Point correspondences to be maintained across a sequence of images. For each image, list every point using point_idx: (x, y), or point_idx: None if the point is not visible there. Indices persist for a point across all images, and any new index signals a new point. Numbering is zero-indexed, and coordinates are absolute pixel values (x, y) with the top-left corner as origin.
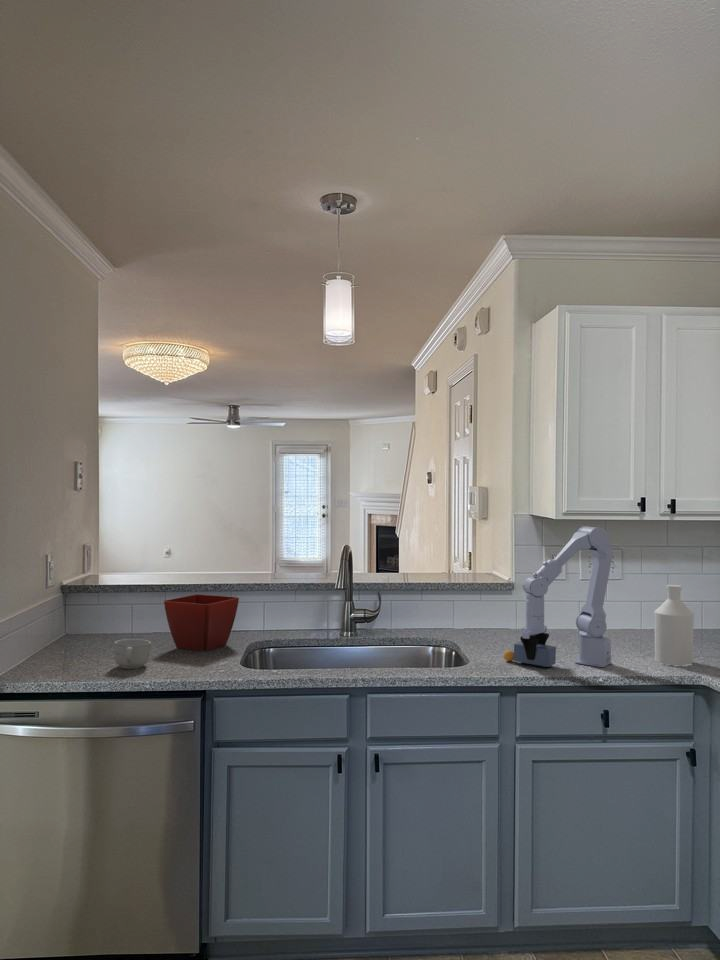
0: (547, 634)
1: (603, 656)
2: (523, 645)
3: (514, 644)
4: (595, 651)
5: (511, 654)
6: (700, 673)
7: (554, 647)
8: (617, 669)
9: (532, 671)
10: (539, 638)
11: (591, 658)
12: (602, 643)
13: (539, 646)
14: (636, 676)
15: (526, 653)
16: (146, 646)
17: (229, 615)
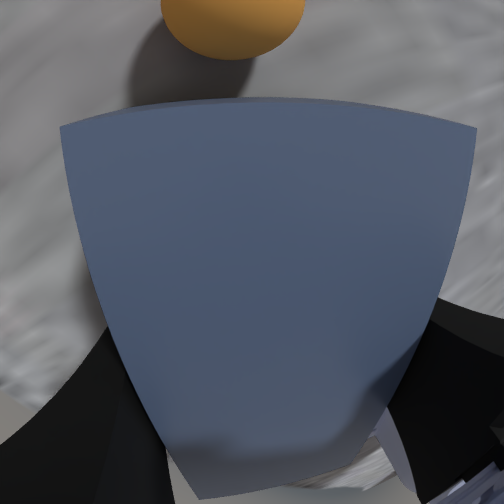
0: (446, 490)
1: (389, 457)
2: (126, 348)
3: (64, 133)
4: (405, 457)
5: (193, 33)
6: (383, 479)
7: (323, 471)
8: (361, 448)
9: (64, 338)
10: (440, 427)
11: (395, 429)
12: (415, 489)
13: (265, 450)
14: (303, 487)
15: (106, 334)
16: None
17: None
